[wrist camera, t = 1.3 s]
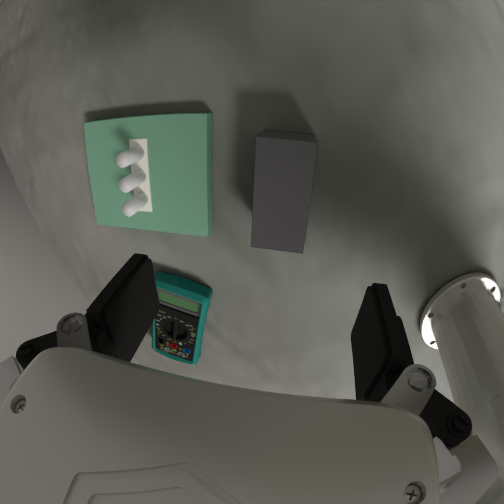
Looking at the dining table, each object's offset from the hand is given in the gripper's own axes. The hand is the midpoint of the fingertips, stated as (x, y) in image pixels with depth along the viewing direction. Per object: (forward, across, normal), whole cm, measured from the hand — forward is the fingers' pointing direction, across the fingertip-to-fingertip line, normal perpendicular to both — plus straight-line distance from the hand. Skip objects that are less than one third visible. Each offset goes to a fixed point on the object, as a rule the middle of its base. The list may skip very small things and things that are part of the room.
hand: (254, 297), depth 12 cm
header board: (+17, +14, 0) cm, 22 cm away
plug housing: (+16, 0, 0) cm, 17 cm away
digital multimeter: (+17, +12, +20) cm, 29 cm away
